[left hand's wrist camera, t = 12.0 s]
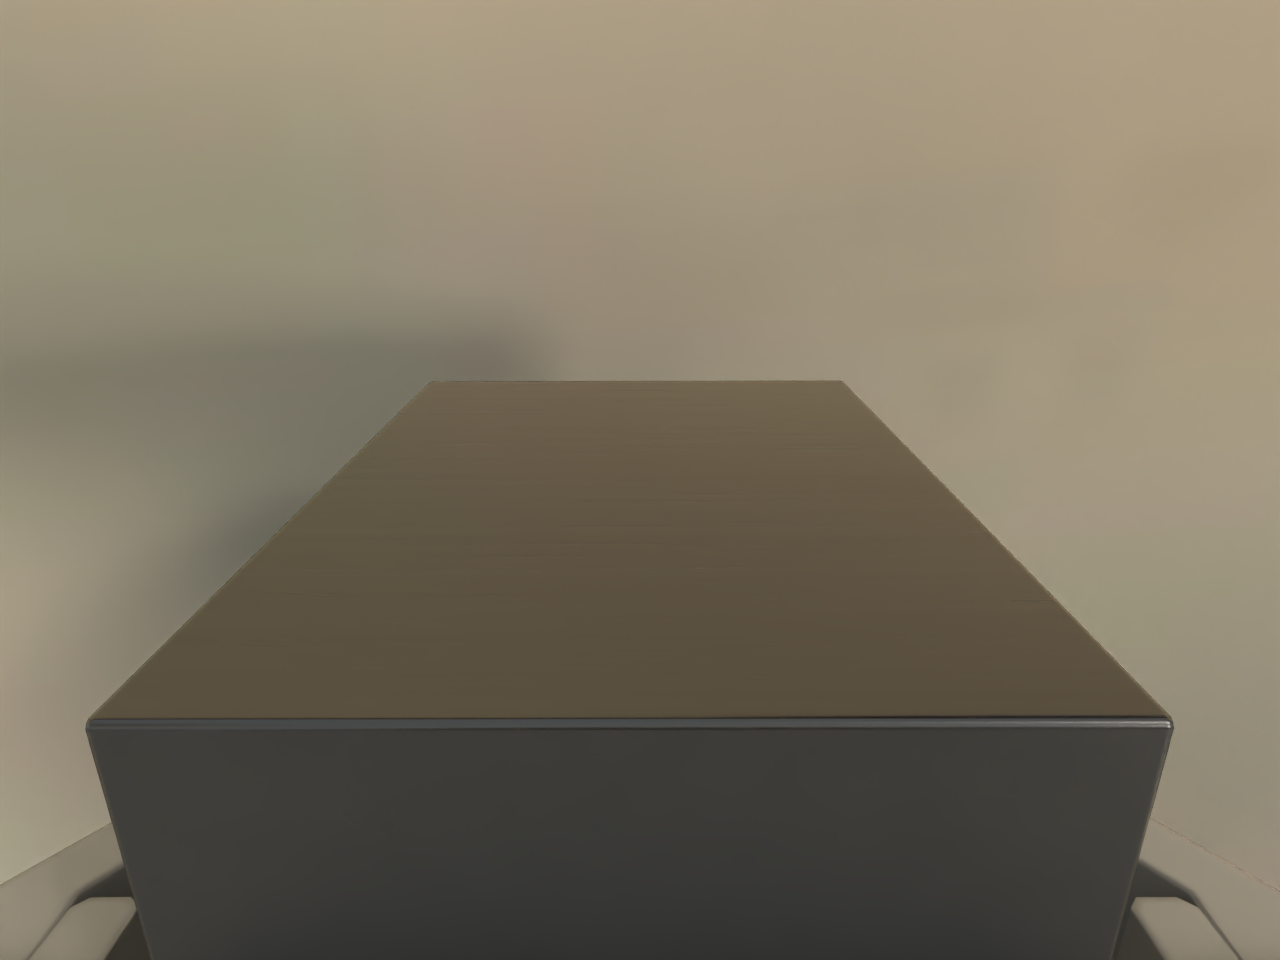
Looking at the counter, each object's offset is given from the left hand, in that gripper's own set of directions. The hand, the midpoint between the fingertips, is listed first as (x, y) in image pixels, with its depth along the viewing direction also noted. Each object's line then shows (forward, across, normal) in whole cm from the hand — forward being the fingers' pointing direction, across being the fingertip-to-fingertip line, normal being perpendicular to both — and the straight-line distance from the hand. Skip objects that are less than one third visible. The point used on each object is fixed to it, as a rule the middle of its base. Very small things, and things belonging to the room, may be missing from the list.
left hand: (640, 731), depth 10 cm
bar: (+3, 0, -7) cm, 8 cm away
